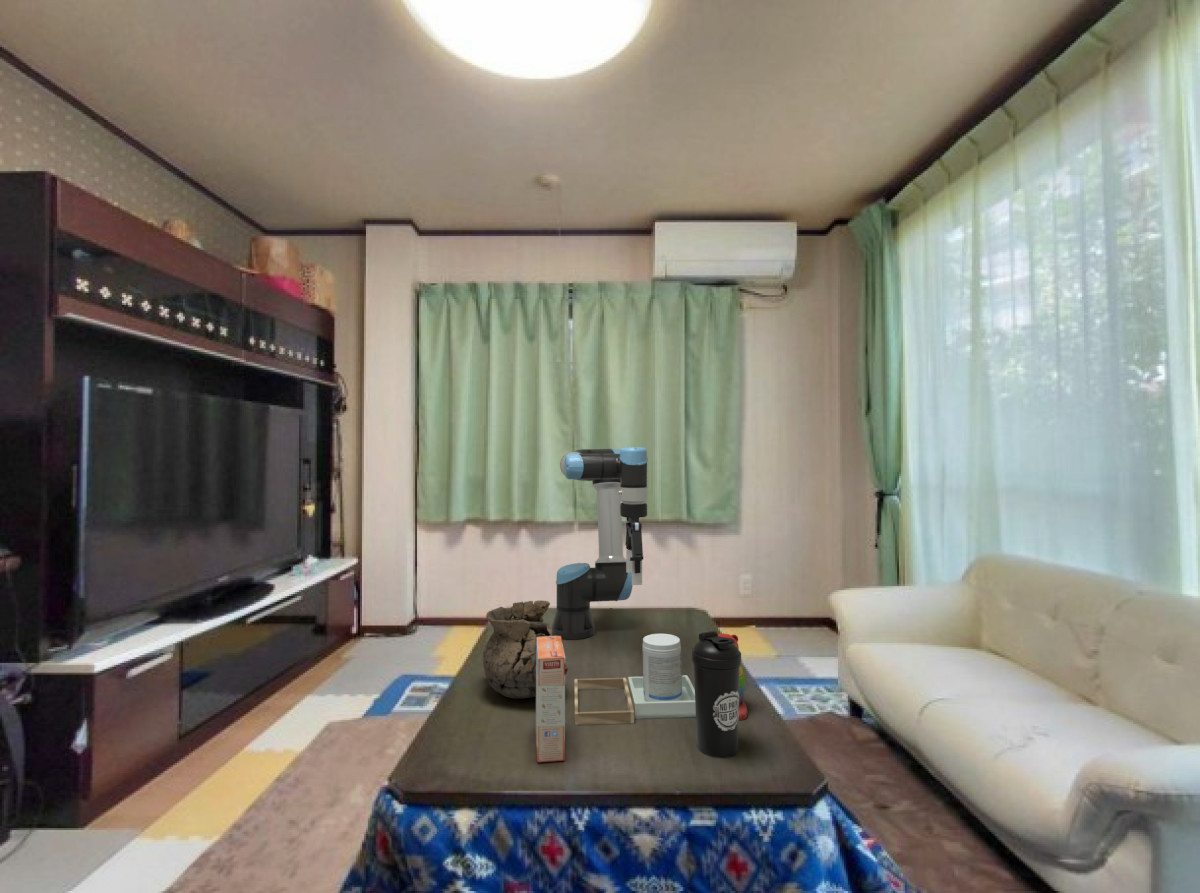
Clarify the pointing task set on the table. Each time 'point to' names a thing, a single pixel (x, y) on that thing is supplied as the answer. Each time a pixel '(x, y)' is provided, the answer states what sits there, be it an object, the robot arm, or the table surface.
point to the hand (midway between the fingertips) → (633, 578)
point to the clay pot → (515, 648)
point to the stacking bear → (741, 682)
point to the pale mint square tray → (662, 708)
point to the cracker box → (550, 699)
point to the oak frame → (603, 716)
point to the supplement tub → (662, 668)
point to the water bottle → (716, 694)
